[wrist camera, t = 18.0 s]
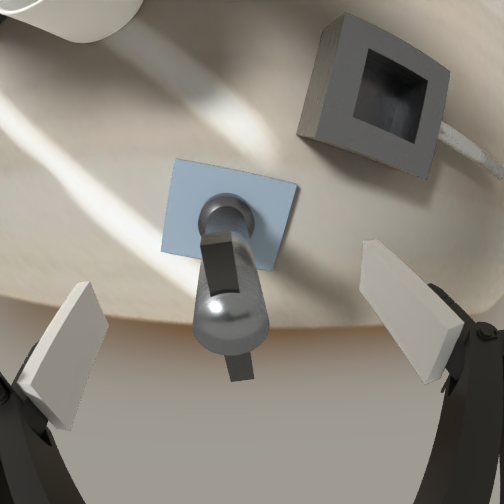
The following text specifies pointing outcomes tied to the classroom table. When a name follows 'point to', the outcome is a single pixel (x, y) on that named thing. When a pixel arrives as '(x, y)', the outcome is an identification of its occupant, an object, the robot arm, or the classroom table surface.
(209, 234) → the key
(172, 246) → the mat
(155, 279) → the classroom table surface
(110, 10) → the mug
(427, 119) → the block
